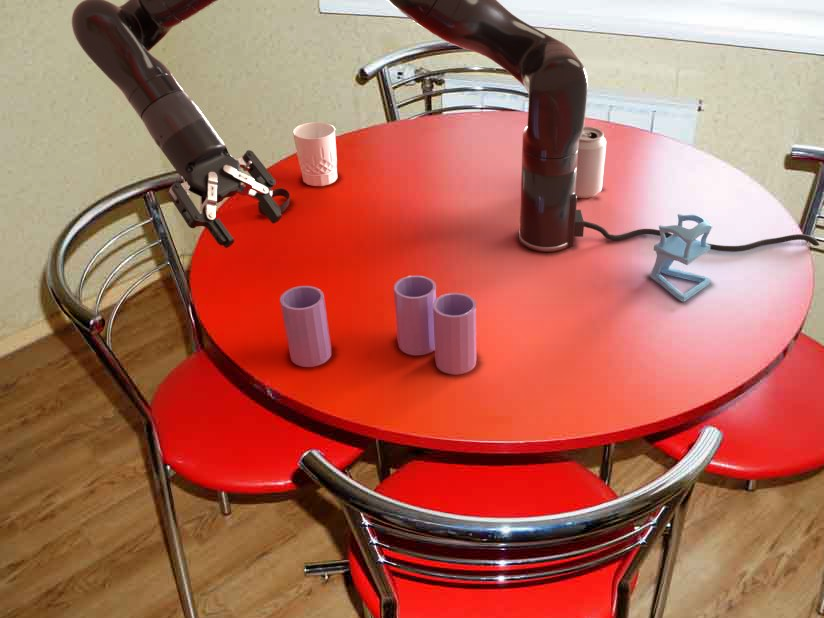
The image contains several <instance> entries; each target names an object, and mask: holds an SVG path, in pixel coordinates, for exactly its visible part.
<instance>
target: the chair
mask: <svg viewBox="0 0 824 618" xmlns="http://www.w3.org/2000/svg"><path fill="white" fill-rule="evenodd" d="M677 220H678V221H677V224H674V225H673V224H672V225H661V224H660V225H658V230H660V235H661V236H660V240H659V242H657V243H655V244H654V245H653V251H654V252H655V254H656V259H655V262H654V265H653V267H652V270H651V272H650V275H649V276H650V278H651V279H652V280H653V281H654V282H656V283H658V284H659V286H662V287H663V288H664V289H665V290H666V291H667V292H668V293H670V294H671V295H672V296H673V297H674V298H676V299H677V300H678V301H680V302H682V303H684V302H686V301H688V300H689V299H690V298H692V297H693V296H695V295H696V294H698V293H699V292H700V291H702V290H703V289H704V288H706V287H707V286H709V285H710V282H711V278H709V277H707V276H704V275H701V274H697V273H693V272H688V271H684V270H681V269H676V268H672V267H671V265H672V264H673V263H674V262H675V261H676V262H679V263H681V264H683V265H684V266H685V265H686V266H688V265H690V264H692V262H694V261H695V260H696V259H698V258H699V257H701V256H702V255H706V254H707V253H708V252H710V251H711V250H710V247H711V245H708V244H709V243H708V242H707V238H708V236H709V235H710V232H711V231H712V229H713V226H712V225H711V223H709V222H708V220H706V218H704V217H702V216H701V215H699V214H682V213H681V214H680V213H678V214H677ZM685 221H686V222H687V221H689V222H690V221H691V222H695V223H697V224H696V225H695V226H694V227H692V228H686V227H684V226H683V222H685ZM664 233H671V234H672V235H671V236H669V237H668V238H666V237H665V234H664ZM700 236H701V239H700V240H697V239H698V238H699V237H700ZM707 243H708V244H707ZM662 274H663V275H662ZM664 275H667V276H672V277H675V278H680V279H684V280H688V281H689V280H690V281H694V282H698V284H697V285H695V286H694V287H692V288H691V289H689V290H687V292H685V293H682V292H681V291H680V290H679V289H678V288H677V287H676V286H674V285H673V284H672V283H671V282H670V281H669V280H668V279H666V278H665V277H664Z"/></svg>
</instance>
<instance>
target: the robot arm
mask: <svg viewBox="0 0 824 618" xmlns="http://www.w3.org/2000/svg"><path fill="white" fill-rule="evenodd" d="M218 1H219V0H128V1H126V2H125V3H123V4H121V5H119V6H118V5H116V4H114V3H112V2H111V1H109V0H82V1H80V2H79V4H77V5H76V6H75V8H74V9H73V12H72V16H71V28H72V32H73V35H74V37H75V40H76V41H77V43H78V45H79V46H80V47H81V49H82V51H83V52H84V53H85V54H86V55H87V57H88V58H89V59H90V60H91V61H92V62H93V63H94V64H95V65H96V67H98V68H99V70H100V71H102V73H103V74H104V75H105V77H107V78H108V79H109V80H110V81H111V82H112V83H113V84H114V85H115V86H117V88H118V89H119V90H120V91H121V92H122V94H123V95H124V98H125V99H126V100H127V102H128V103H129V104H130V106H131V107H132V109H133V110H134V112H135V113H136V114H137V116H138V117H139V118H140V119H141V121H142V122H143V124H144V126H145V128H146V131H147V132H148V133H149V135H150V137H151V139H153V141H154V143H155V144H156V145H157V147H158V148H159V149H160V150H161V152H162V153H163V154H164V156H165V157H166V158H167V160H168V161H169V163H170V164H171V166H172V167H173V168H174V170H175V171H176V172H177V174H178V175H179V176H180V177H181V178H183V182H178V181H174V182H173V183H172V185H171V186H170V188H169V190H168V191H167V195H168V197H169V198H170V200H171V202H172V203H173V205H174V206H175V208H176V209H177V211H178V212H179V214H180V215H181V217H182V219H183V220H184V221H185V223H186V225H187V226H188V227H189V228H190V229H196V228H197V227H198V228H199V227H204V228H206V229H207V230H208V232H209V233H210V234H211V236H212V237H213V239H214V240H215V242H216V243H217V244H218V245H219V246H221V247H222V246H223V247H224V248H225V249H227V248H229V247H231V246H233V244H234V243H235V239H234V237H233V235H232V234H231V233H230V232H229V230H228V229H227V227H226V226H225V225H224V223H223V222H222V220H221V219H220V217H217V218H216V215H217V213H216V211H217V209H216V208H217V206H216V205H217V204H219V203H221V202H223V200H225V199H226V198H231V197H233V196H235V195H236V194H238V195H241V196H244V197H249V198H252V199H253V200H255V201H258V202H257V204H259V206H260V207H261V209H262V210H263V211H264V213H265V214H266V215H267V216H266V217H267V219H269V221H270V223H272V224H276V223H278V222H279V221H280V220H281V219H282V213H281V210H280V208H279V205H278V204H277V202H276V201H275V199H274V197H273V198H272V197H271V195H270V191H272V190H273V189H272V188H273V187H275V185H276V183H277V181H276V179H275V177H274V176H273V175H272V173H270V172H269V170H268V169H267V168H266V166H265V165H264V163H262V161H261V160H260V159H259V158H258V156H257V155H256V154H255V152H254V151H253V150H250V149H248V150H246V151H245V153H244V154H243V155H241V156H239V157H237V158H235V157H233V156H232V155H231V154H230V152H229V150H228V149H227V146H226V144H225V142H224V141H223V140H222V138H221V137H220V136H219V134H218V133H217V131H216V130H215V128H214V127H213V126H212V125H211V123H210V121H209V120H208V118H206V116H205V115H204V113H203V112H202V110H201V109H200V107H199V106H198V105H197V104H196V103H195V102H194V101H193V99H192V98H191V97H190V96H189V95H188V94H187V92H186V91H185V89H183V87H182V86H181V84H180V83H179V81H178V80H177V79H176V77H175V76H174V75H173V73H172V72H171V71H170V69H169V68H168V67H167V66H166V65H165V64H164V63H163V62H162V61H160V60H159V59H157V57H155V56H154V55H152V54H151V53H150V51H151V50H152V49H153V48H155V46H156V45H157V44H158V43H159V42H160V41H161V40H162V39H164V38H165V37H166V36H167V34H169V32H170V31H171V30H172V29H173V28H174V27H177V26H178V25H180V24H182V23H184V22H186V21H188V20H189V19H190V18H192V17H193V16H196V15H197V14H198V13H200V12H202V11H204V10H205V9H207V8H208V7H210V6H212V5H213V4H214V3H216V2H218ZM387 1H388V2H389V3H390V4H391V5H392V6H393V7H394V8H396V9H397V10H398V11H400V12H401V13H402V14H403V15H404V16H405V17H407V18H408V19H409V20H411V21H413V22H415V23H416V24H417V25H418V26H420V27H422V28H423V29H424V30H426V31H428V32H429V33H431V34H432V35H434V36H435V37H437V38H439V39H441V40H443V41H444V42H446V43H448V44H450V45H453V46H455V47H459V48H462V49H464V50H466V51H467V50H468V51H469V52H470V51H471V52H473V53H476V54H479V55H481V56H484V57H486V58H487V59H490V60H491V61H492V62H494V63H495V64H497V65H498V66H499V67H501V68H502V69H503V70H505V72H507V73H509V74H510V75H511V76H512V77H514V78H515V80H517V81H518V82H519V83H520V84H521V85H522V86H523V88H525V90H526V92H527V94H528V106H527V107H528V108H527V109H528V110H527V124H526V126H525V127H524V129H523V132H522V141H521V142H522V143H521V144H522V145H521V150H522V151H521V173H520V174H521V176H520V177H521V179H520V207H519V209H520V210H519V231H518V240H519V242H520V244H522V246H524V247H526V248H527V249H529V250H532V251H536V252H542V253H543V252H544V253H551V252H552V253H553V252H559V251H562V250H564V249H566V248H573V247H574V246H575V245H574V244H575V238H583V237H584V231H585V230H584V229H585V228H587V229H591V230H594V231H597V232H599V233H601V235H602V236H603V237H604V238H605V239H607V240H608V241H609V240H610V241H614V242H615V241H616V242H617V241H623V240H624V241H625V240H628V239H630V238H634V237H636V236H642V235H651V236H652V235H654V236H659V237H661V235H660V230H659V229H656V228H639V229H636V230H635V229H634V230H632V231H630V232H627V233H623V234H611V233H609V232H608V231H607V230H606V229H605V227H603V226H601V225H599V224H596V223H593V222H590V221H587V220H584V216H583V213H582V210H581V209H577V204H578V198H577V195H576V192H575V188H576V174H577V161H578V148H579V140H580V138H581V136H582V133H583V129H584V126H585V120H586V112H587V104H588V103H587V102H588V93H589V91H588V90H589V80H588V79H589V78H588V73H587V70H586V68H585V65H583V63H582V61H581V60H580V59H579V57H578V56H577V55H576V54H575V52H574V51H573V50H572V48H570V47H569V46H568V45H567V44H566V43H564V42H562V41H560V40H559V39H557V38H555V37H552V36H550V35H549V34H547V33H545V32H543V31H541V30H539V29H537V28H535V27H534V26H533V25H530V24H529V23H527V22H525V21H523V20H521V19H520V18H518V17H517V16H516V15H514V14H513V13H512V12H510V11H509V10H508V9H507V8H506V7H505V6H504V5H502V3H501V2H499V1H498V0H387ZM241 169H242V170H243V171H244V172H247V173H248V174H249V175H247V174H246V173H244V172H241ZM191 193H192V194H194V195H197V196H198V197H200V198H199V200H200V201H199V202H200V203H199V204H200V205H199V209H198V208H197V206H196V205H195V203H194V202H193V200H192V199H191V197H190V194H191ZM199 210H200V211H199ZM664 234H665V237H666V238H668V237H669V236H671V235H672V234H673V233H664ZM791 241H806V242H808V243H809V244H811V245H812V246H814V247H818V246H820V243H819V242H818V240H817V239H816V238H814V237H813V236H812V235H808V234H804V233H803V234H802V233H799V234H789V235H785V236H779V237H774V238H766V239H761V240H758V241H754V242H751V243H748V244H747V243H746V244H741V245H723V244H714V243H708V242H706V243H707V244H708V245H711V247H710V250H709V251H716V252H729V253H730V252H731V253H732V252H735V253H736V252H745V251H750V250H753V249H756V248H759V247H763V246H768V245H776V244H781V243H786V242H791Z"/></svg>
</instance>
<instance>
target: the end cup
mask: <svg viewBox="0 0 824 618" xmlns="http://www.w3.org/2000/svg"><path fill="white" fill-rule="evenodd" d="M279 303H280V309H281V314H282V321H283V326H284V331H285V336H286V342H287V347H288V353H289V357H290V360H291V362H292V363H293V364H295V365H296V366H298V367H303V368H314V367H318V366H321V365H323V364H325V363H327V362H328V361H329V360H330V358H331V357H332V353H333V351H332V344H331V342H332V341H331V337H330V335H331V334H330V329H329V322H328V315H327V307H326V306H327V305H326V300H325V293H324V292H323V291H322V290H321V289H319V288H318V287H316V286H312V285H298V286H295V287H291V288H289V289H287V290H285V291H284V292H283V293H282V294H281V295H280V298H279Z"/></svg>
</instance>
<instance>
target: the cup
mask: <svg viewBox="0 0 824 618" xmlns="http://www.w3.org/2000/svg"><path fill="white" fill-rule="evenodd" d="M433 320H434V342H435V350H434V360H435V366H436V367H437V369H438V370H439V371H441V372H442V373H445V374H448V375H454V376H456V375H463V374H466V373H469V372H470V371H472V370H473V369H475V367H476V366H477V302H476V300H475V299H474V298H473V297H472V296H470V295H468V294H466V293H461V292H448V293H444V294H441V295H440V296H438V297H436V300H435V301H434V302H433Z"/></svg>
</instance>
